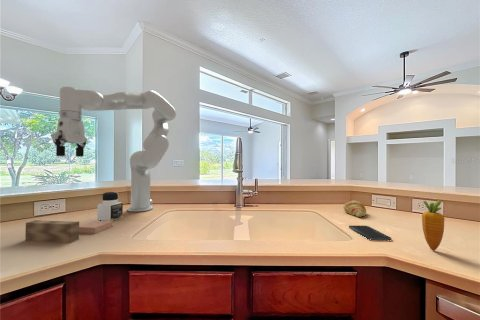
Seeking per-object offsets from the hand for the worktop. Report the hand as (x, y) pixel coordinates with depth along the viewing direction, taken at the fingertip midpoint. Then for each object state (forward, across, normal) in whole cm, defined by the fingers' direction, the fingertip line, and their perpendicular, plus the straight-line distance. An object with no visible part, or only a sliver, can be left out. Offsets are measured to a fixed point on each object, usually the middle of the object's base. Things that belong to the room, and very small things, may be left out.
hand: (70, 156), depth 94 cm
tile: (+27, -10, -15) cm, 32 cm away
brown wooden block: (+28, -22, -13) cm, 38 cm away
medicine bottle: (+28, +5, -15) cm, 32 cm away
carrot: (+29, -21, -132) cm, 137 cm away
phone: (+29, -6, -121) cm, 125 cm away
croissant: (+29, +27, -131) cm, 137 cm away
